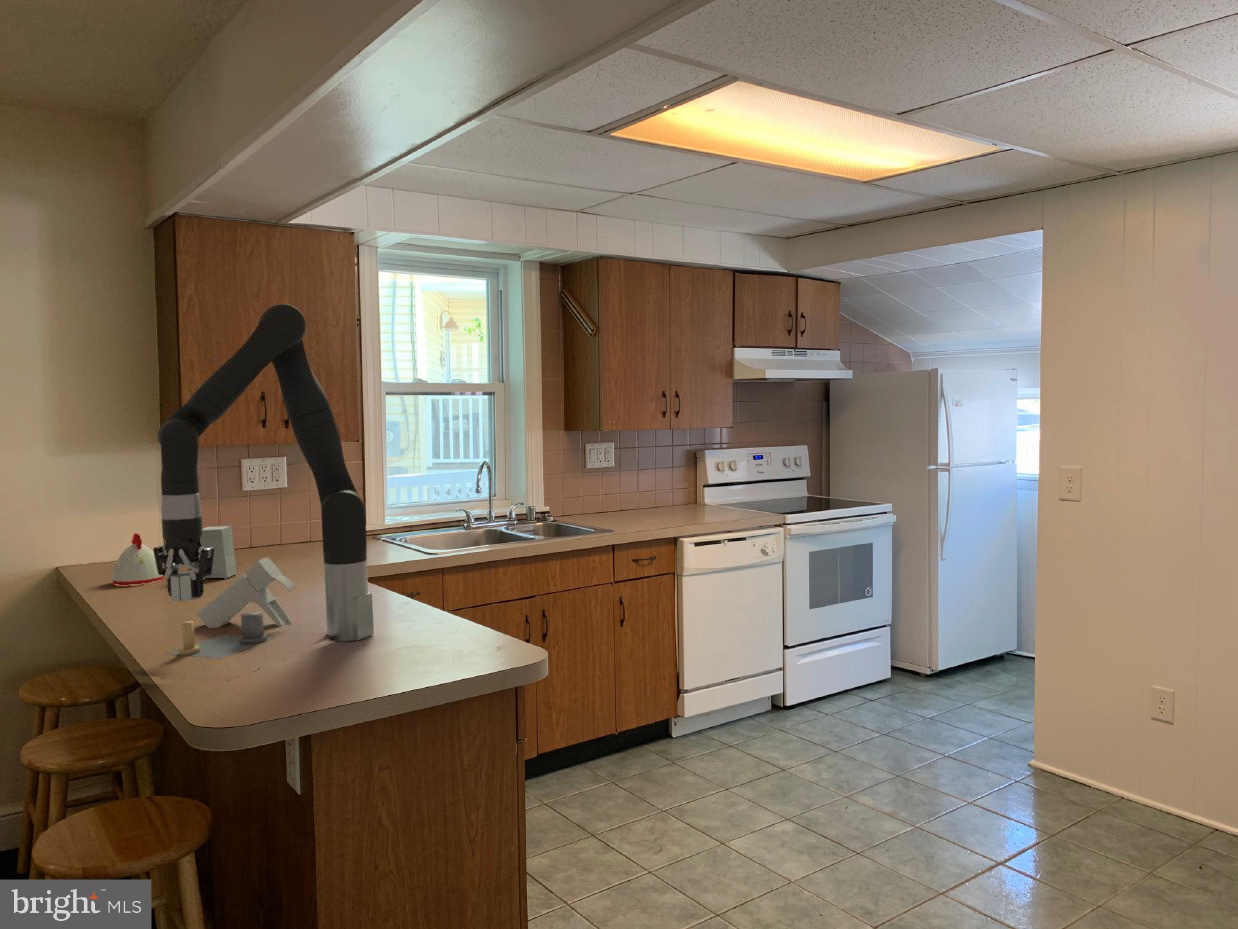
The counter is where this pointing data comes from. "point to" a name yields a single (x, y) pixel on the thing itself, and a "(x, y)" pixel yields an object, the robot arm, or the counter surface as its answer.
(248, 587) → the faucet
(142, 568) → the chicken hat
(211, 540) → the skincare box
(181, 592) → the tube
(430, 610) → the counter surface
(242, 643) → the board
